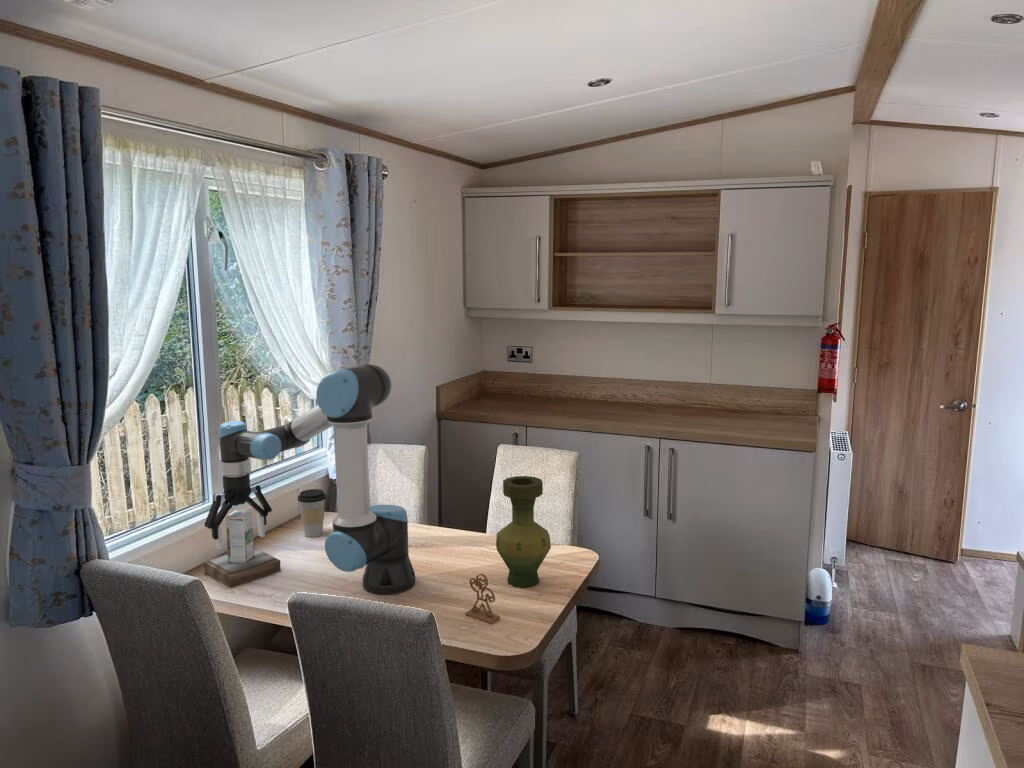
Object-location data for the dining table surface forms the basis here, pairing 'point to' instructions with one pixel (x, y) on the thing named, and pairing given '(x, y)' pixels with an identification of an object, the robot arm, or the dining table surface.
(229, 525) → the syrup box
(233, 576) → the stand
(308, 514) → the coffee cup
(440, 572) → the dining table surface
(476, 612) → the gingerbread man figurine
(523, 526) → the vase
